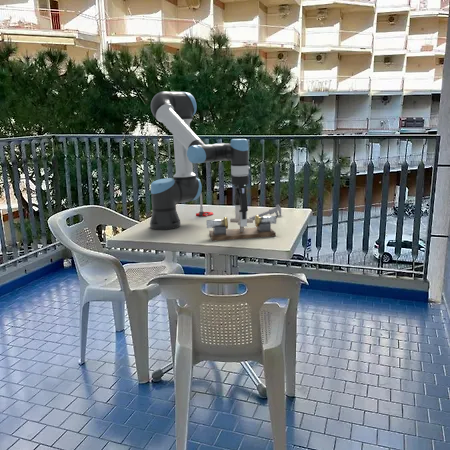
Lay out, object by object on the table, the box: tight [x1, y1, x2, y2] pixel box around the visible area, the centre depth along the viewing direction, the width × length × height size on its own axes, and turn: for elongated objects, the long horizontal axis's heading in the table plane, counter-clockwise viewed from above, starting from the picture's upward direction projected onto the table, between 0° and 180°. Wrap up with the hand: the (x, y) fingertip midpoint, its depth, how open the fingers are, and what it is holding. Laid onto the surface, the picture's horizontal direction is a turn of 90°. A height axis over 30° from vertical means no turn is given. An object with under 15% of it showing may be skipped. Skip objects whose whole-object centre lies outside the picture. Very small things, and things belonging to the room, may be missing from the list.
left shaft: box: [206, 216, 229, 235], centre depth 187 cm, size 9×6×7 cm, turn 98°
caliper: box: [248, 204, 282, 220], centre depth 222 cm, size 20×1×6 cm, turn 117°
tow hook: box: [195, 192, 214, 217], centre depth 235 cm, size 8×13×9 cm
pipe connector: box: [229, 209, 254, 232], centre depth 188 cm, size 10×10×10 cm
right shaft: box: [254, 214, 277, 232], centre depth 190 cm, size 9×6×7 cm, turn 98°
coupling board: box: [208, 226, 277, 242], centre depth 190 cm, size 28×12×2 cm, turn 98°
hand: (241, 222), depth 189 cm, fingers open, 13 cm apart
